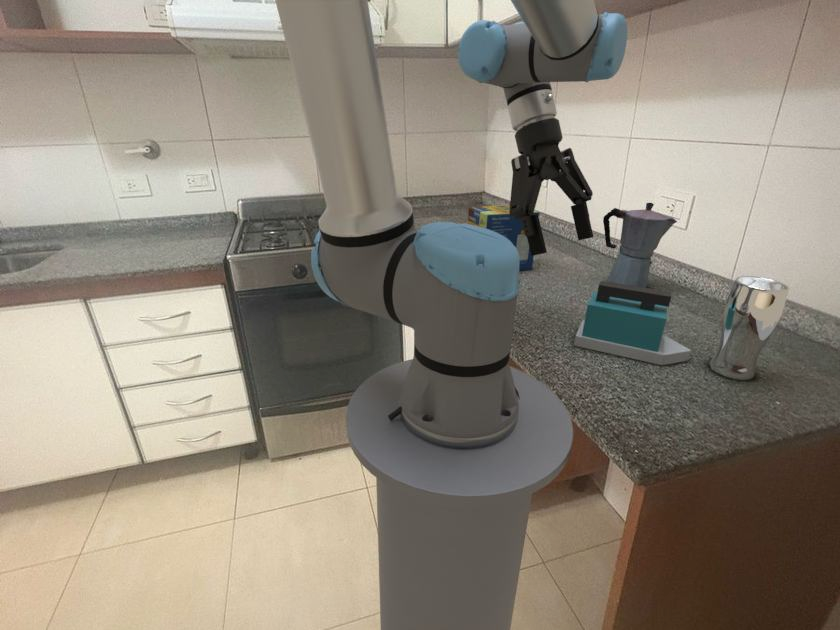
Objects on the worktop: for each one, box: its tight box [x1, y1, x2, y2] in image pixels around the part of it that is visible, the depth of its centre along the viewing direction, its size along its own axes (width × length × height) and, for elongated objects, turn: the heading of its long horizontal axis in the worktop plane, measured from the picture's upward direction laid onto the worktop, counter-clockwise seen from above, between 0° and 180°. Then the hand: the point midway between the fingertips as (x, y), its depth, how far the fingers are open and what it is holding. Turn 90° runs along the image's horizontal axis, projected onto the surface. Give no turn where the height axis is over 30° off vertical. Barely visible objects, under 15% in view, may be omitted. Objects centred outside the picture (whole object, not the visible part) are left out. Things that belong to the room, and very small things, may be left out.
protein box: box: [467, 204, 540, 272], centre depth 117 cm, size 10×15×16 cm
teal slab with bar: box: [573, 280, 692, 366], centre depth 75 cm, size 18×8×11 cm, turn 62°
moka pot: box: [602, 202, 678, 288], centre depth 104 cm, size 10×15×20 cm, turn 74°
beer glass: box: [709, 275, 790, 381], centre depth 68 cm, size 7×7×15 cm
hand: (563, 246), depth 78 cm, fingers open, 13 cm apart
